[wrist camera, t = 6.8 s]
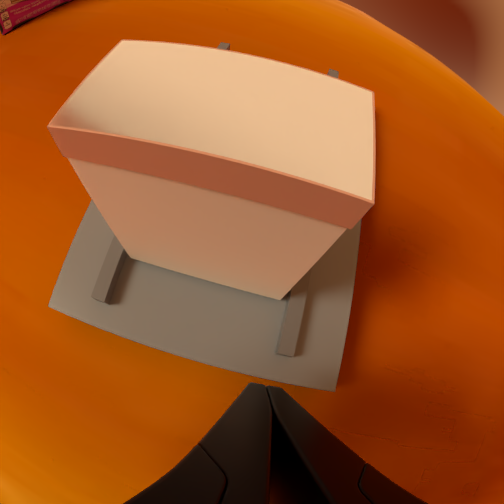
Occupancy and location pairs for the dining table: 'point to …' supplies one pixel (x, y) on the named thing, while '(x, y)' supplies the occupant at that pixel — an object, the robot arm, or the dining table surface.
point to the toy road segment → (214, 308)
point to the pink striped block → (221, 160)
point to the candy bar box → (23, 11)
